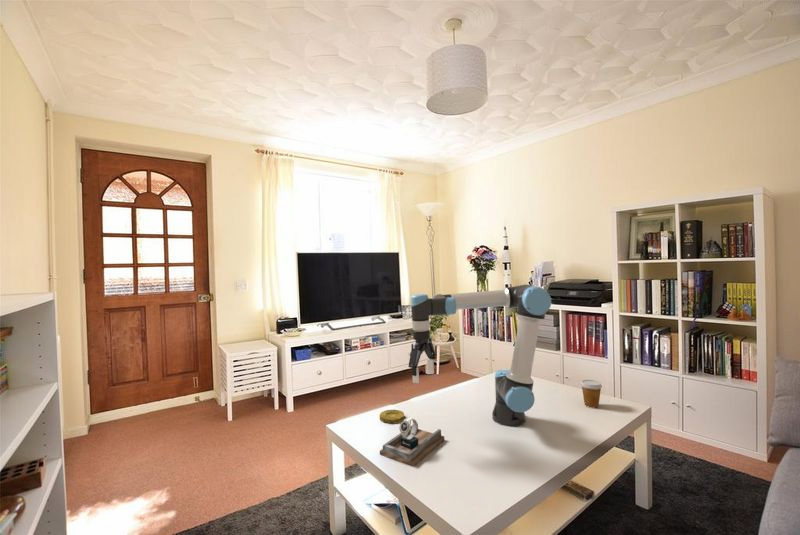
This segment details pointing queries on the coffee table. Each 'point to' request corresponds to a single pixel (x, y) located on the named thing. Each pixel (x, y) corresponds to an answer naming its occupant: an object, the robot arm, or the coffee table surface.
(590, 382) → the disposable coffee cup
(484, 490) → the coffee table surface
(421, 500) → the coffee table surface
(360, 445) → the coffee table surface
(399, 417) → the olive yellow flat disc
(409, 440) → the watch
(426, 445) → the wooden tray
